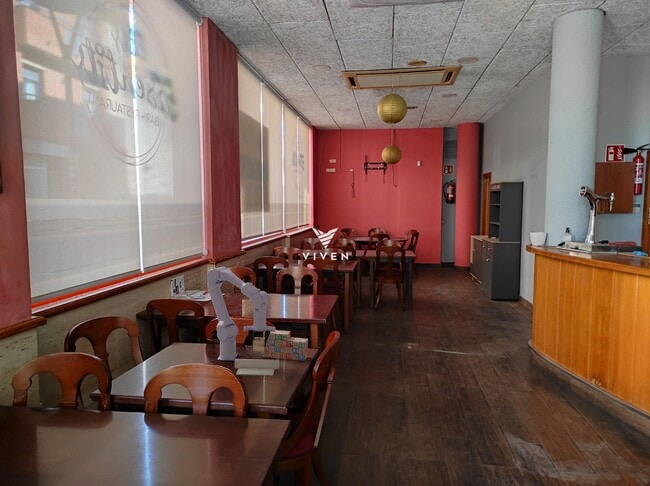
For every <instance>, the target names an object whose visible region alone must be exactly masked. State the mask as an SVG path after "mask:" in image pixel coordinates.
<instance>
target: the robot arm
mask: <svg viewBox="0 0 650 486" xmlns="http://www.w3.org/2000/svg"><path fill="white" fill-rule="evenodd" d="M205 276H206V279H207V289H208V294H209V296H210V299H211V302H212V306H213V308H214V312H215V315H216V318H217V321H218V323H217V325H216V336H217V338H218V340H219V356H218V357H217V360H218V361H235V359H237V357H238V355H239V354H238V352H237V351H236V350H237V349H236V347H237V341H236V339H237V336H238V334H239V328H238V325H236V323H235V321H234V319H232V318H230V315H229V314H230V313H229V311H228V309H227V305H226V302H225V299H224V295H223V293H222V289H221V286H222V285H223V283H224V282H225V281H226V282H229V283H230V284H232V285H234V286H236V287H237V288H238V289H240V292H241V293H242V294H243V295H244V296H245V297H247V298H248V299H250V300H251V302H252V304H253V324H252V325H244V326H243V332H247V335H248V337H249V339H250V342H251V347H252V348H253V340H254V338H255V332H265V343H264V347H266V344H267V340H268V337H269V335H270V333H271V332H275V330H276V327H275V326H269V325H267V303H268V301H269V300H270V299H269V298H270V297H269V294H268V293H267V291H265V290H261V289H260V288H257V287H256V286H254V284H253V282H245V281H243V280H242V279H241V278H240V277H238V276H237V275H236V274H235V273H234V272H233V271H232V269H229V268H228V267H227V266H220V267H215V268H213V267H212V268H210V269H208V272H207V273H206V275H205ZM236 352H237V353H236Z"/></svg>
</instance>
